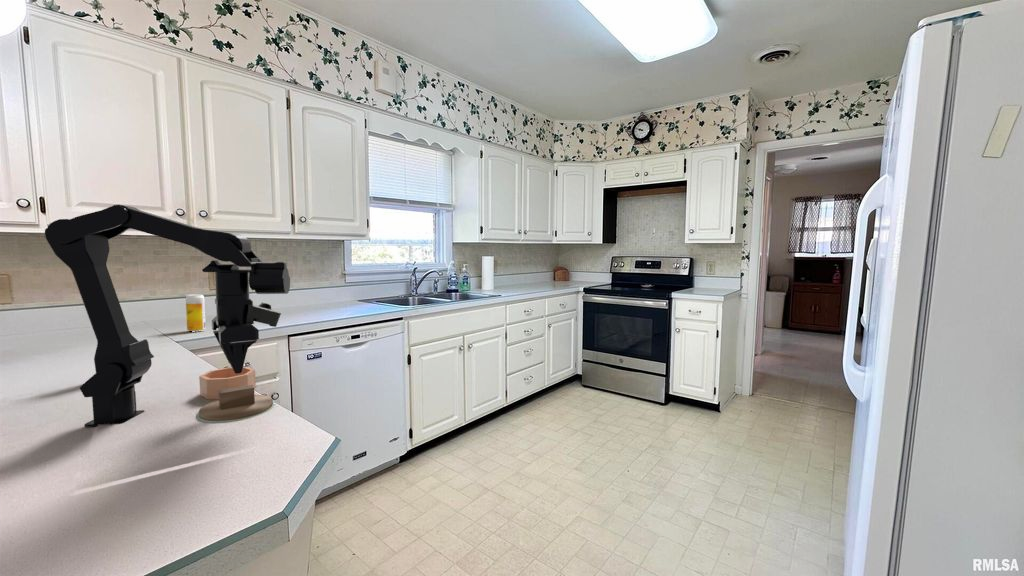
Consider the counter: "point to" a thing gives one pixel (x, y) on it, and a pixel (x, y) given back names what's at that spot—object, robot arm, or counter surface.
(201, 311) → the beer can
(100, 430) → the counter surface
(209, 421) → the sage mat
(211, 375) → the terracotta bowl
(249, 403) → the walnut lid
